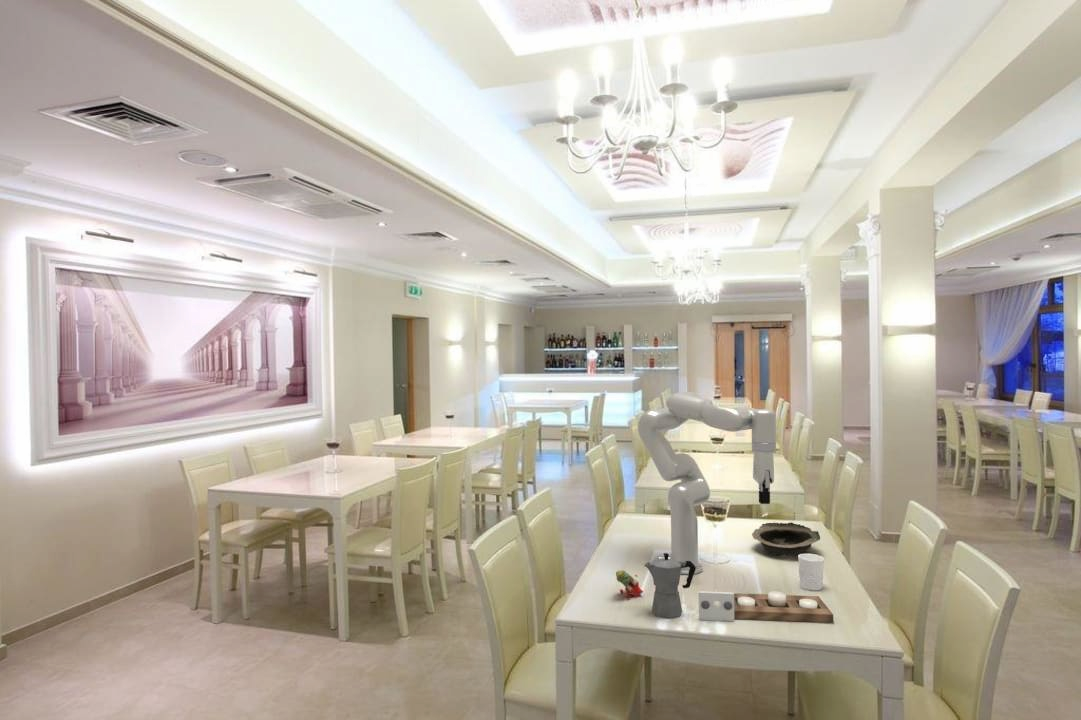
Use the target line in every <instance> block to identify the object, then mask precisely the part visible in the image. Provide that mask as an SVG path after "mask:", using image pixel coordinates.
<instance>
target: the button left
mask: <svg viewBox="0 0 1081 720" xmlns="http://www.w3.org/2000/svg"><path fill="white" fill-rule="evenodd" d="M738 606H755V600H754V599H753V598H751V597H739V598H738Z"/></svg>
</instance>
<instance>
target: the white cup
mask: <svg viewBox="0 0 1081 720" xmlns="http://www.w3.org/2000/svg"><path fill="white" fill-rule="evenodd" d="M797 557H798V559H797V561H798V573H799V574H798V575H799V576H798V577H799V586H800V588H803V589H804V590H808V591H821V590H822V589H823V581H824V564H825V563H824V561H825V558H824V557H823V556H821V555H819V554H815V553H814V554H813V553H799V554H798V555H797Z"/></svg>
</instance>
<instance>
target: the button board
mask: <svg viewBox="0 0 1081 720" xmlns="http://www.w3.org/2000/svg"><path fill="white" fill-rule="evenodd" d="M733 593H734V620H744V621H746V620H748V621H769V622H770V621H773V622H792V623H793V622H797V623H819V624H820V623H822V624H834V613H832V611H831V610H830V609H829V607H828V606H827V604H825V602H824V601H823V600H822V599H821V598H820V596H819V595H818V596H817V595H793V594H791V595H790V594H785V595H786V606H783V607H776V606H772V605H770V604H769V603H768V593H767V594H764V593H738V592H736V593H735V592H733ZM739 597H751V598H753V599H754V600H755V606H738V598H739ZM800 599H811V600H814V601H816V602H817V609H814V608H800V606H799V600H800Z"/></svg>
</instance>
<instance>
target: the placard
mask: <svg viewBox="0 0 1081 720" xmlns="http://www.w3.org/2000/svg"><path fill="white" fill-rule="evenodd" d="M734 593H735V592H726V591H725V592H722V591H703V590H702V591H699V590H698V620H699V621H720V622H721V621H722V622H725V621H726V622H735V619H734Z"/></svg>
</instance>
